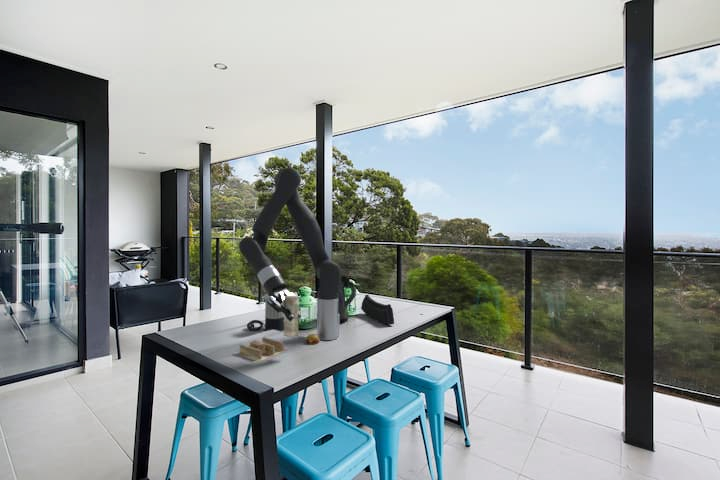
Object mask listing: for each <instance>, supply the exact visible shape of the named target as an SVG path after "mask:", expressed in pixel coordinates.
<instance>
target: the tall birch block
mask: <svg viewBox="0 0 720 480" xmlns="http://www.w3.org/2000/svg"><path fill="white" fill-rule="evenodd" d="M299 297H300V296H292V295H289V296H284V300H285V301H286V305H287V307H288V309H289V310H290V312H291V313H292V315H293V316H294V319H293V320H292V321H289V320H288V319H287V318H286V316H285V314H284V330H283V336H284V337H288V338H290V339H292V338H296V337H299V319H298V310H299V306H300V300H299ZM299 311H300V310H299Z"/></svg>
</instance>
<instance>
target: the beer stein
mask: <svg viewBox="0 0 720 480" xmlns="http://www.w3.org/2000/svg"><path fill="white" fill-rule="evenodd" d="M345 288H350V291H351V293H350V296H349V297H348V298H347V299H346V292H345ZM356 295H357V286H356V284H355V283H354V282H353V281H350V277H349V276H347V275H343V274H341V281H340V292H339V299H338V314H339V315H340V319H339V325H343V323H344V324H346V323H347V322H348V321H349V311H348V308H347V307H348V306H349V305H350V304H351V303H352V302H353V300H354V299H355V297H356ZM345 322H346V323H345Z"/></svg>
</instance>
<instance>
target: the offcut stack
mask: <svg viewBox="0 0 720 480" xmlns="http://www.w3.org/2000/svg"><path fill="white" fill-rule="evenodd" d="M253 341H254V340H253ZM253 341H251V342H249V345H248V346H249V347H252V348H256V349H259V350H262V355H265V354H267V350H265V347H266V344H265V343H263V342H262V341H259V340H255V341H254V342H253Z"/></svg>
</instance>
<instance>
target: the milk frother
mask: <svg viewBox="0 0 720 480" xmlns="http://www.w3.org/2000/svg"><path fill="white" fill-rule="evenodd" d="M269 298H270V296H267V297H265V298H264V300H265V302H264V303H265V304H264V305H265V308H264V309H265V310H264V311H265V313H264V315H265V316H264V317H265V318H264V319H265V320H264V322H265V323H264V322H263V321H261V320H259V319H253V320H250V321H249V322H248V323H247V324H246V328H247V329H248V330H249V331H259V330H261V329H263V327H264V329H263V330H264V331H265V332H267V331H270V330H275V331H278V332H284V313H282V312H279V313H278V312H277V311H276V310H275V309H273V308H272V307H271V306H270V305H269V304H268V303H267V300H268V299H269ZM276 307H277V308H279V307H278V306H277V305H276ZM255 324H259V326H258V327H255Z"/></svg>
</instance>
